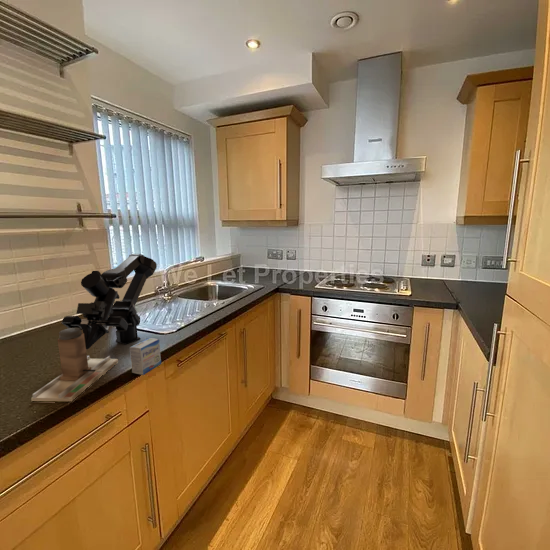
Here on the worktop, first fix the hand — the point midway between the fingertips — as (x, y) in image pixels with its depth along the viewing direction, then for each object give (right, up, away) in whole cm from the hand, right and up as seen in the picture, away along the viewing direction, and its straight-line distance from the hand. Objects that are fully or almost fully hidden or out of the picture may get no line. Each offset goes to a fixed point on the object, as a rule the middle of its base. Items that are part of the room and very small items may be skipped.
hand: (85, 349), depth 92 cm
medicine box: (+18, -7, +3) cm, 19 cm away
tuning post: (+1, -7, -4) cm, 8 cm away
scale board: (0, -8, -4) cm, 9 cm away
